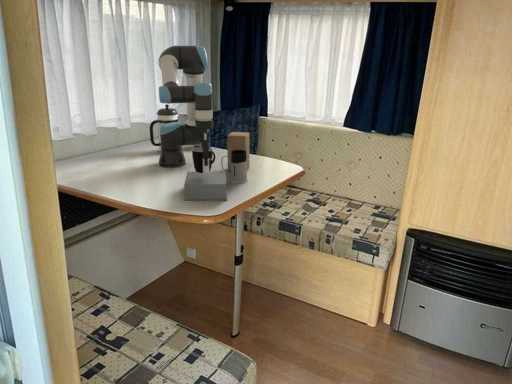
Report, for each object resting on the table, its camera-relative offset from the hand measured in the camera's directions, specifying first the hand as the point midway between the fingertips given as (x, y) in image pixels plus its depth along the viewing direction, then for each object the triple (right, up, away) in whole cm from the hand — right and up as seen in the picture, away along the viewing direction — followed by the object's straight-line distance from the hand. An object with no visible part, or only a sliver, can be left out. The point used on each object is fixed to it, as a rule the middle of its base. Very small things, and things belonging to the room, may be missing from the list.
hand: (205, 169), depth 187 cm
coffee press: (-33, +15, +77) cm, 85 cm away
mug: (0, -1, +1) cm, 1 cm away
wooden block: (+13, +2, +41) cm, 43 cm away
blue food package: (-13, +19, +89) cm, 92 cm away
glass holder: (+12, -5, +21) cm, 25 cm away
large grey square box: (0, -11, +4) cm, 12 cm away
